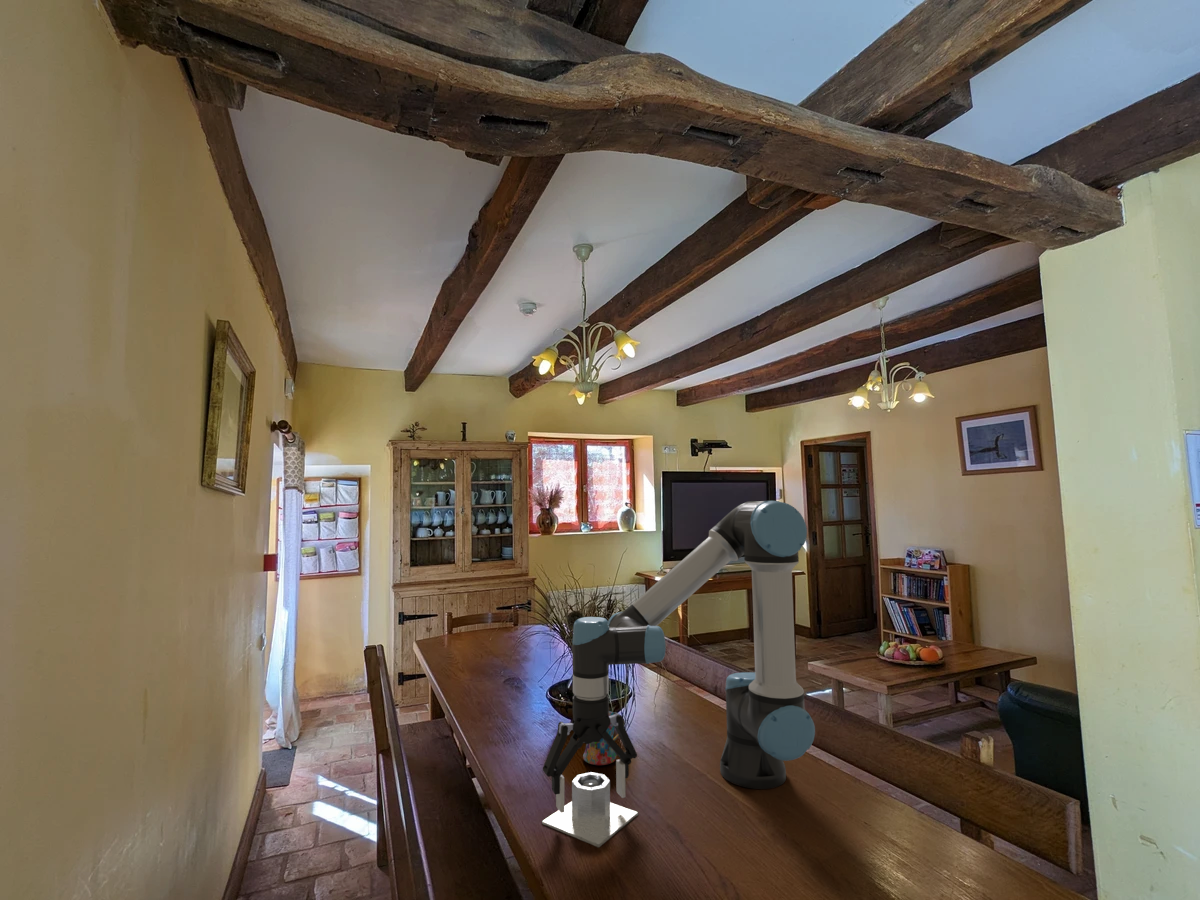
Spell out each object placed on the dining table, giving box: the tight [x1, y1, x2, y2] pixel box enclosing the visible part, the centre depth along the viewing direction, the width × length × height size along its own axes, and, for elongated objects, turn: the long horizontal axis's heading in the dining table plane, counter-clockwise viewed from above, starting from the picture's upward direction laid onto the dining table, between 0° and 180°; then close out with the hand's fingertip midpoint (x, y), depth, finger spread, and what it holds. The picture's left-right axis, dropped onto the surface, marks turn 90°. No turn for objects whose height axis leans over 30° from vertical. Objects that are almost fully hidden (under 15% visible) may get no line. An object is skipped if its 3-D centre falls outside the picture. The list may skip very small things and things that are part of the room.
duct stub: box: [542, 780, 639, 848], centre depth 119 cm, size 14×14×7 cm
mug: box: [582, 710, 626, 766], centre depth 147 cm, size 12×9×11 cm
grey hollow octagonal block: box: [571, 771, 611, 827], centre depth 119 cm, size 7×7×7 cm
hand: (591, 802), depth 119 cm, fingers open, 13 cm apart
